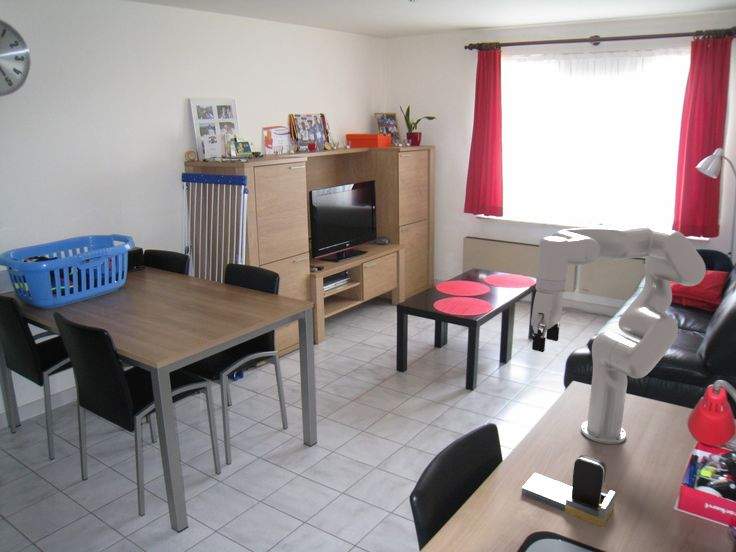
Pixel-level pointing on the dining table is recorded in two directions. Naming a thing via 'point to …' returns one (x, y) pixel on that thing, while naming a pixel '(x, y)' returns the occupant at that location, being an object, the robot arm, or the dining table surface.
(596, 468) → the battery charger
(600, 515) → the grey and yellow block
